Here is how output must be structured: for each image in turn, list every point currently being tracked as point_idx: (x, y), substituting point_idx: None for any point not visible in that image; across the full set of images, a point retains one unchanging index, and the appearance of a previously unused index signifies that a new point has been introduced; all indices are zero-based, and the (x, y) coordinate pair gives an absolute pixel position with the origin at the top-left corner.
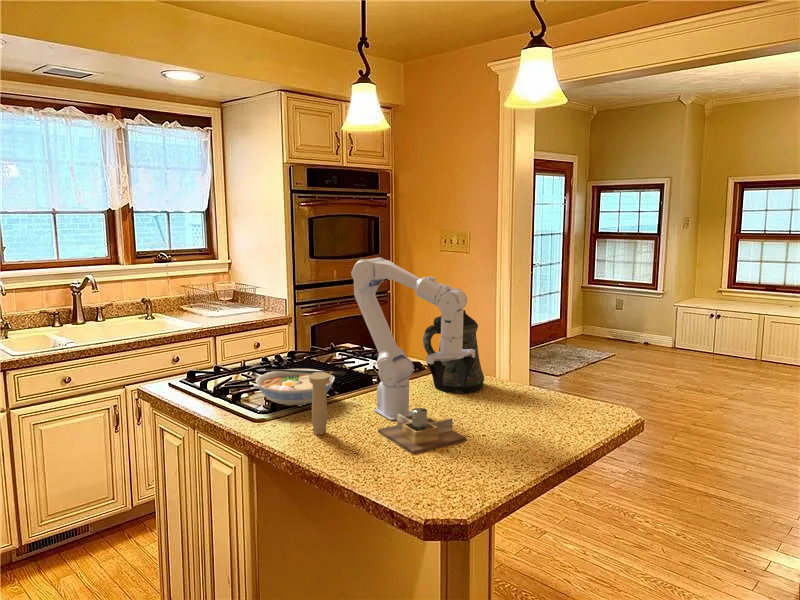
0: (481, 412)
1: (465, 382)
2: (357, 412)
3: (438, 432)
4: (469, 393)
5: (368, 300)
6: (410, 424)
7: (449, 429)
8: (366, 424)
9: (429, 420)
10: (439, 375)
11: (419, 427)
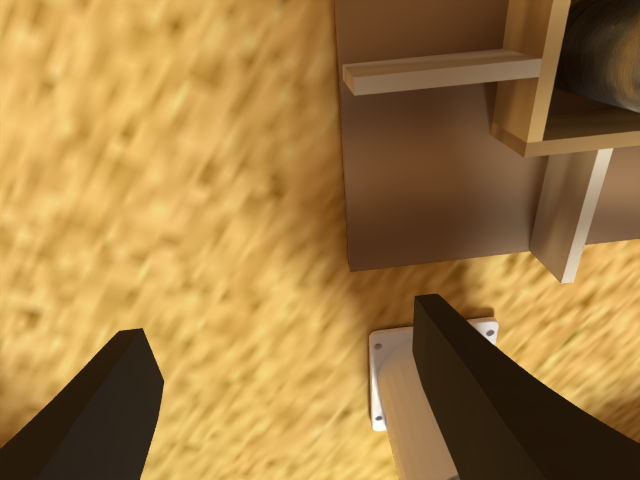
0: (24, 273)
1: (105, 349)
2: None
3: (450, 55)
4: None
5: None
6: (626, 129)
7: (366, 64)
8: (595, 317)
9: (367, 247)
10: (577, 410)
11: None
